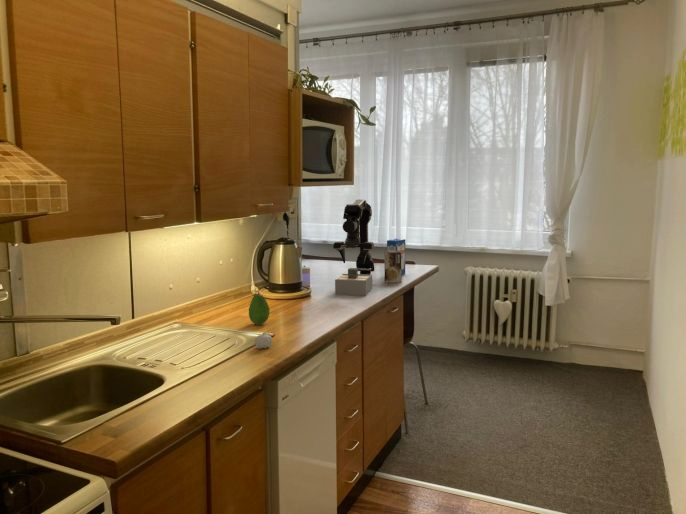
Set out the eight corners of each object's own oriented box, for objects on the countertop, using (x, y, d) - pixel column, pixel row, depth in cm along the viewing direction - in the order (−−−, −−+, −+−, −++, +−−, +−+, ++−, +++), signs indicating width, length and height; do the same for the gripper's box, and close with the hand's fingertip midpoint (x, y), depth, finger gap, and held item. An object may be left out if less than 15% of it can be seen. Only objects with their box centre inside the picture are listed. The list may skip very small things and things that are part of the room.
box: (342, 287, 283) (342, 273, 282) (372, 288, 280) (372, 274, 278) (335, 294, 268) (334, 279, 266) (366, 295, 264) (365, 280, 263)
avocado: (250, 327, 210) (249, 296, 209) (248, 322, 218) (246, 292, 216) (271, 326, 213) (270, 295, 211) (268, 321, 220) (267, 291, 218)
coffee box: (401, 280, 301) (401, 250, 298) (401, 282, 294) (401, 252, 292) (384, 280, 302) (384, 250, 299) (384, 282, 295) (384, 252, 293)
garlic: (267, 344, 190) (266, 329, 189) (275, 347, 186) (275, 332, 185) (251, 347, 186) (250, 332, 185) (259, 351, 182) (259, 336, 181)
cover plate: (342, 276, 281) (342, 266, 280) (369, 277, 278) (369, 266, 277) (335, 281, 268) (335, 270, 267) (364, 282, 264) (364, 271, 264)
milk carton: (396, 273, 323) (395, 238, 320) (405, 274, 320) (405, 239, 317) (387, 275, 315) (386, 240, 312) (396, 276, 312) (396, 241, 309)
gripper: (329, 232, 259) (330, 265, 261) (369, 232, 255) (369, 266, 257) (335, 229, 270) (336, 261, 272) (374, 230, 266) (374, 262, 268)
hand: (353, 263), depth 267 cm, fingers open, 9 cm apart
